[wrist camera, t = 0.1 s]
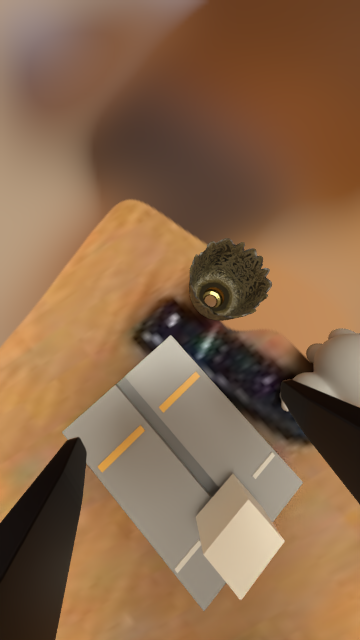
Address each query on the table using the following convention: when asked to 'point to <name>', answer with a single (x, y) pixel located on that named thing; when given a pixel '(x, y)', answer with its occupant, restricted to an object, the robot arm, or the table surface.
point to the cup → (228, 280)
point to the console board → (177, 458)
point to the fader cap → (237, 536)
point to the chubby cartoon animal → (335, 367)
